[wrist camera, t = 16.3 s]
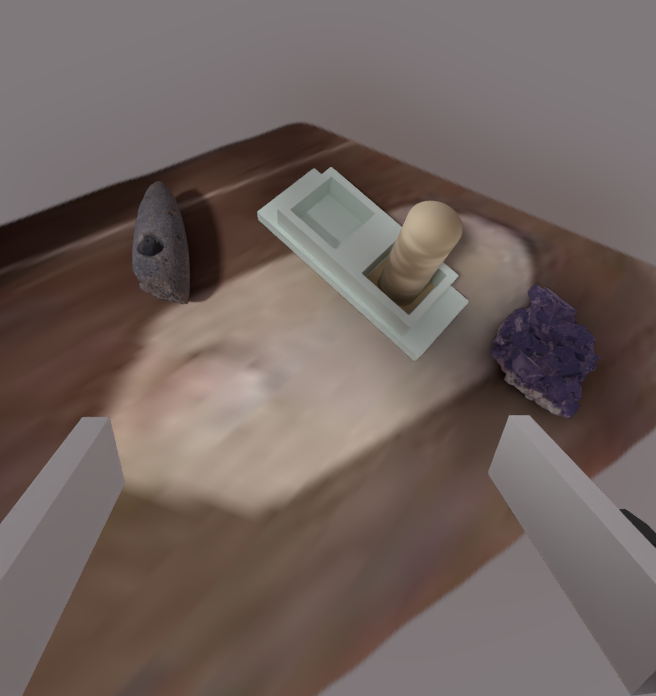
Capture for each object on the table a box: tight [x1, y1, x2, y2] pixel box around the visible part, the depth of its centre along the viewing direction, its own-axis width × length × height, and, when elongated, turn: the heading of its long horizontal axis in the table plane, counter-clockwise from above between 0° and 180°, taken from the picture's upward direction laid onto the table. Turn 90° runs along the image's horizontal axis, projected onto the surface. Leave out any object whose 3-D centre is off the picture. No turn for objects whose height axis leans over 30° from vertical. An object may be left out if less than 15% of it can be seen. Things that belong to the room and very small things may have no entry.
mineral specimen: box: [490, 285, 600, 419], centre depth 44 cm, size 11×14×4 cm
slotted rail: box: [257, 167, 469, 361], centre depth 44 cm, size 26×10×4 cm, turn 48°
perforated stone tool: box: [132, 181, 190, 304], centre depth 40 cm, size 15×5×7 cm, turn 8°
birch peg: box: [378, 201, 462, 306], centre depth 38 cm, size 5×5×12 cm
